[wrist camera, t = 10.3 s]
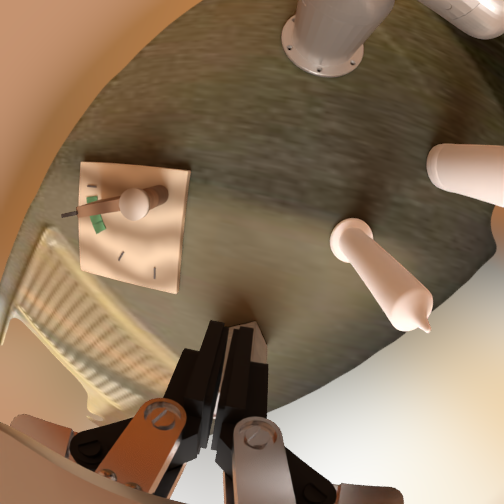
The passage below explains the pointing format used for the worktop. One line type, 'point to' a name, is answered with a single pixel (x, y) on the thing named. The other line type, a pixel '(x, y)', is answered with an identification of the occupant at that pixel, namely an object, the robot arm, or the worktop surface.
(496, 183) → the bottle
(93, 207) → the peg
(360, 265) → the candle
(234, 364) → the robot arm
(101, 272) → the tuner plate
